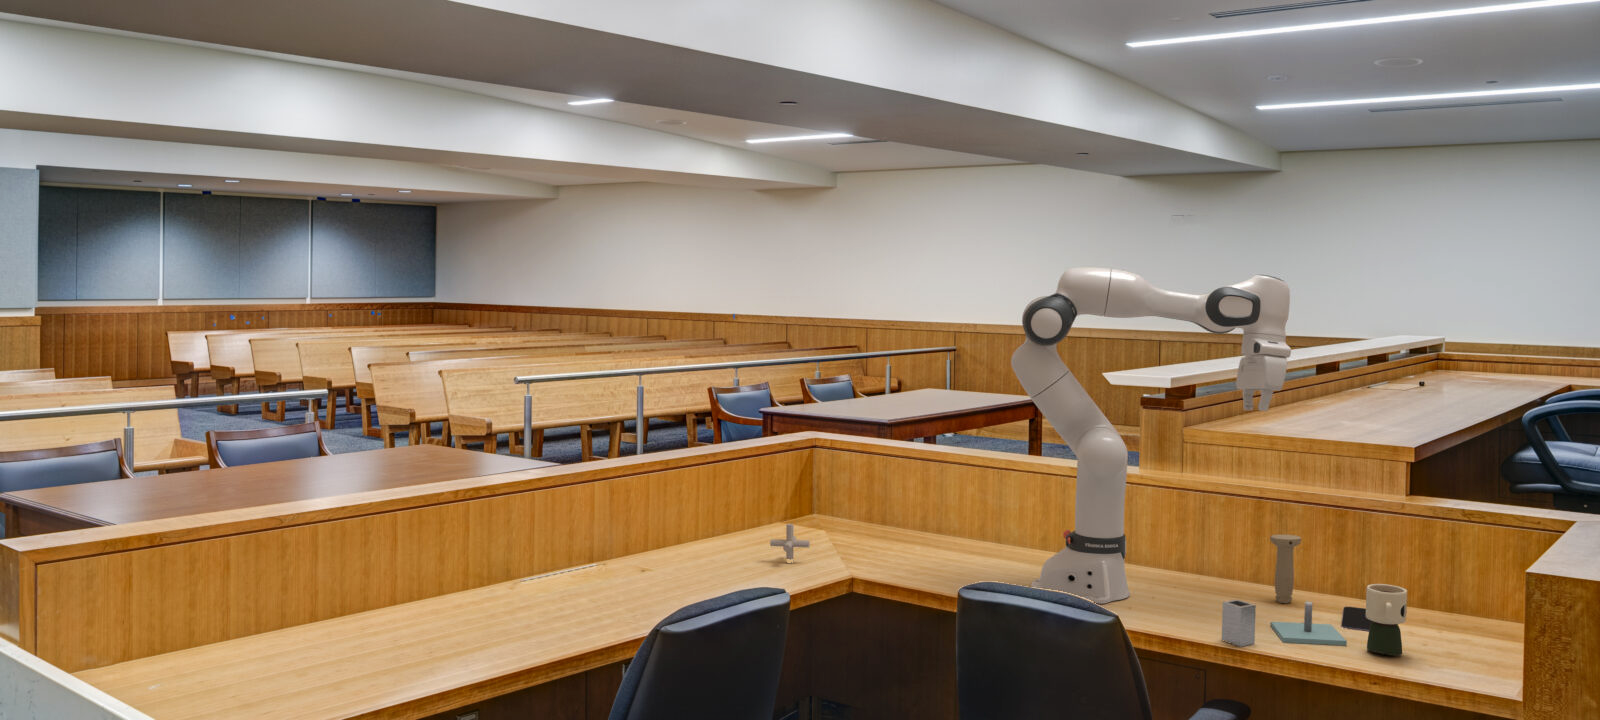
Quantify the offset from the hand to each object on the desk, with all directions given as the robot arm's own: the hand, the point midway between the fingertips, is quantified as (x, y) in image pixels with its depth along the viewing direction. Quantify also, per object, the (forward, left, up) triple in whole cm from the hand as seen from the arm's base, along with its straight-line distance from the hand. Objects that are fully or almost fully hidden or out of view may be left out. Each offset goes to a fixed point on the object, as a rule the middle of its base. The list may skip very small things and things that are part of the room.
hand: (1255, 410), depth 254 cm
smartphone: (+21, -7, -45) cm, 50 cm away
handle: (+8, +5, -44) cm, 45 cm away
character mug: (+19, -29, -44) cm, 57 cm away
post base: (+7, -20, -44) cm, 49 cm away
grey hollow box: (-8, -27, -44) cm, 53 cm away
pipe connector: (-109, +20, -44) cm, 119 cm away
